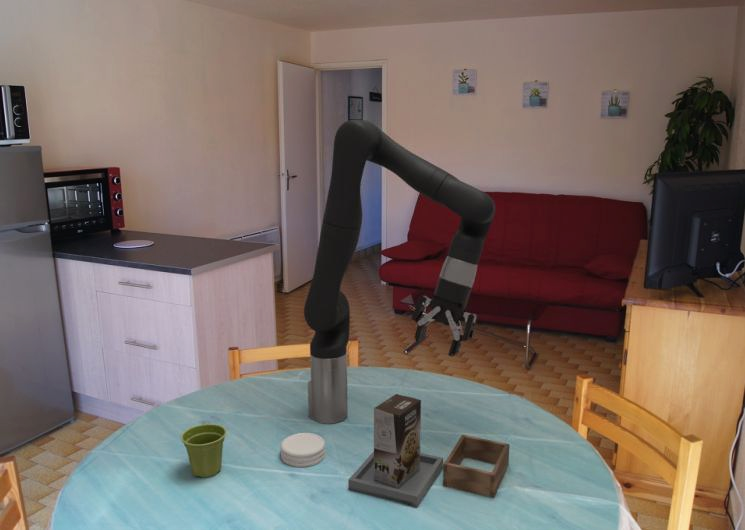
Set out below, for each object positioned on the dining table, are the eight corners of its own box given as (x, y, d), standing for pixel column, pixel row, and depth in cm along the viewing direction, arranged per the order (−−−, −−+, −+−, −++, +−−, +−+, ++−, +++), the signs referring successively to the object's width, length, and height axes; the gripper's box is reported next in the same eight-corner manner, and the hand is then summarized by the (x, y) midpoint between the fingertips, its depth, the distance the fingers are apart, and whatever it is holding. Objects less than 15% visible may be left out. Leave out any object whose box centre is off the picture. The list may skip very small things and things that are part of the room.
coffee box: (399, 489, 123) (399, 415, 120) (372, 479, 127) (372, 407, 123) (421, 469, 131) (422, 399, 127) (396, 460, 134) (396, 392, 131)
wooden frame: (442, 485, 126) (443, 463, 125) (461, 454, 138) (462, 434, 137) (493, 497, 122) (494, 475, 121) (508, 464, 134) (509, 444, 133)
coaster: (333, 451, 140) (333, 437, 139) (309, 472, 132) (309, 457, 131) (297, 442, 145) (297, 428, 144) (272, 461, 136) (271, 447, 135)
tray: (348, 489, 125) (348, 479, 124) (380, 453, 139) (380, 444, 138) (417, 507, 119) (417, 496, 118) (443, 467, 133) (443, 457, 132)
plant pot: (188, 487, 126) (185, 448, 124) (180, 466, 134) (177, 429, 132) (233, 475, 130) (231, 438, 128) (222, 455, 138) (220, 420, 137)
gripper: (421, 269, 135) (400, 338, 137) (479, 289, 128) (456, 362, 130) (435, 271, 142) (415, 337, 143) (491, 290, 135) (469, 359, 136)
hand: (434, 348), depth 136 cm, fingers open, 8 cm apart
